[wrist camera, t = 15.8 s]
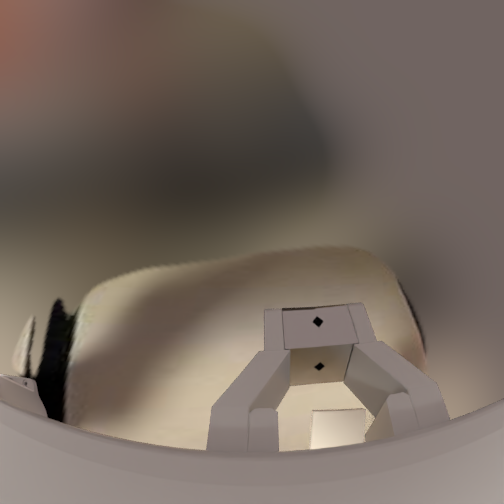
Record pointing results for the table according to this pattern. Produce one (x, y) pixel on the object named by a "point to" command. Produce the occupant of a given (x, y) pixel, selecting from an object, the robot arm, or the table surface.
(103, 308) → the table surface
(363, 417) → the flap
